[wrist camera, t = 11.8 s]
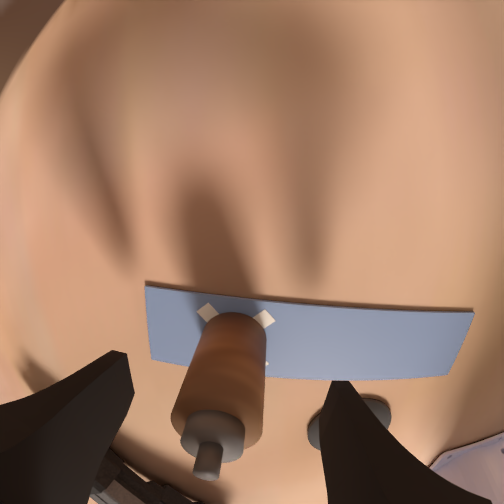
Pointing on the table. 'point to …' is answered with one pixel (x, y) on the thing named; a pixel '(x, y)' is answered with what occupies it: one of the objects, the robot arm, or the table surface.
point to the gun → (129, 486)
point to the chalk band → (314, 336)
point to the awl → (222, 393)
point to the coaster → (375, 405)
